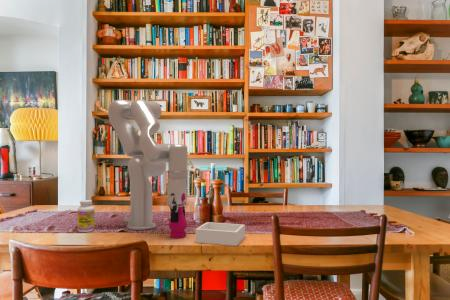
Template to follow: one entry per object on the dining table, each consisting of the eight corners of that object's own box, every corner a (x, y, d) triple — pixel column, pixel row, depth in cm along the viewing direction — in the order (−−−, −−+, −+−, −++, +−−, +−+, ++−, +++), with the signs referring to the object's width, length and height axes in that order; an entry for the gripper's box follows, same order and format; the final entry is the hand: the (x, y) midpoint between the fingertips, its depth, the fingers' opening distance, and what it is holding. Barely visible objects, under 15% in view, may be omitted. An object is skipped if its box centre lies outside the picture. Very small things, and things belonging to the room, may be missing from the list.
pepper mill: (183, 239, 141) (183, 187, 140) (166, 238, 142) (166, 187, 142) (189, 234, 148) (189, 185, 147) (172, 233, 149) (172, 185, 149)
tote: (195, 242, 136) (195, 229, 136) (206, 234, 148) (206, 222, 148) (236, 246, 131) (236, 232, 131) (244, 237, 144) (244, 224, 144)
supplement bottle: (76, 233, 150) (76, 202, 149) (79, 229, 156) (79, 199, 156) (93, 232, 151) (93, 201, 151) (95, 228, 157) (95, 199, 157)
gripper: (178, 173, 154) (178, 215, 154) (159, 177, 137) (159, 224, 137) (194, 173, 152) (194, 216, 152) (177, 177, 135) (177, 225, 135)
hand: (178, 220), depth 145 cm, fingers closed on pepper mill, 5 cm apart
